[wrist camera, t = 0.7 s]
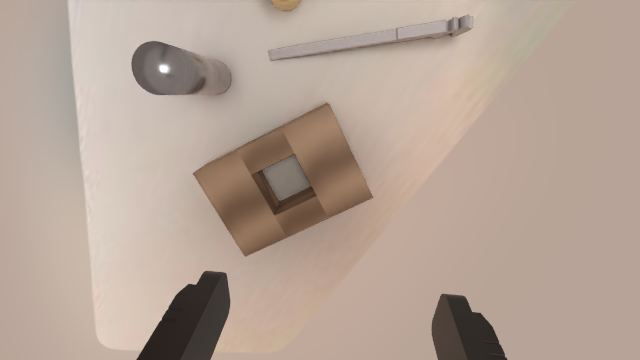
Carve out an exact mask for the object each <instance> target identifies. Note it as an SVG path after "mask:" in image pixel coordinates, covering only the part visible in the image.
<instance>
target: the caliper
mask: <svg viewBox="0 0 640 360" xmlns="http://www.w3.org/2000/svg"><path fill="white" fill-rule="evenodd" d="M472 28H473V16H469V15H466V16H463V17H461V18H459V19H458V17H453V18H452V20H449V21H446V20H444V21H438V22H432V23H426V24H420V25H414V26H408V27H402V28H397V29H394V30H388V31H381V32H375V33H369V34H363V35H357V36H351V37H345V38H339V39H332V40H326V41H320V42H314V43H308V44H302V45H296V46H290V47H284V48H278V49H276V50H270V51H268V52H269V58H270V61H271V60H278V59H286V58H294V57H301V56H307V55H314V54H320V53H326V52H333V51H339V50H346V49H352V48H358V47H365V46H371V45H378V44H384V43H391V42H403V41H409V40H415V39H420V38H425V37H432V38H434V39H437V38H440V37H442V36H443V34H448V33H452V36H457V35H460V34H462V33H465V32H467V31H469V30H471V29H472Z"/></svg>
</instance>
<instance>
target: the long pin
mask: <svg viewBox="0 0 640 360" xmlns="http://www.w3.org/2000/svg"><path fill="white" fill-rule="evenodd" d="M132 71H133V75H134V77H135V79H136V81H137V82H138V84H139V85H140V86H141V87H142V88H143V89H145V90H146V91H148V92H150V93H152V94H156V95H194V94H221V93H223V92H225V91H226V90H227V89H228V88H229V86H230V84H231V73H230V71H229V69H228V67H227V66H226V65H225V64H224V63H222V62H220V61H218V60H214V59H211V58H208V57H205V56H202V55H199V54H196V53H193V52H190V51H186V50H183V49H180V48H177V47H174V46H171V45H168V44H165V43H161V42H157V41H151V42H146V43H144V44H142V45H141V46H139V47H138V48H137V50H136V51H135V53H134V55H133V58H132Z"/></svg>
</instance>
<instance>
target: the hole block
mask: <svg viewBox="0 0 640 360" xmlns="http://www.w3.org/2000/svg"><path fill="white" fill-rule="evenodd" d="M292 154H295V155H296V157H297V159H298V161H299V163H300V165H301V167H302V169H303V171H304V173H305V175H306V176H307V178H308V180H309V182H310V184H311V186H312V187H310V188H308V189H306V190H303V191H301V192H299V193H297V194H295V195H293V196H291V197H289V198H287V199H285V200H282V201H280V202H279V201H278V199H277V197H276V196H275V194H274V192H273V190H272V188H271V187H270V185H269V183H268V181H267V180H266V178H265V176H264V174H263V172H262V171H261V170H262V169H264V168H266V167H268V166H270V165H272V164H274V163H276V162H278V161H280V160H282V159H284V158H286V157H288V156H290V155H292ZM193 175H194V176H195V178H196V179H197V181H198V183H199V184H200V186H201V187H202V189H203V191H204V192H205V194H206V195H207V197H208V199H209V200H210V202H211V203H212V205H213V207H214V208H215V210H216V211H217V213H218V215H219V216H220V218H221V219H222V221H223V222H224V224H225V226H226V227H227V229H228V230H229V232H230V234H231V235H232V237H233V238H234V240H235V242H236V243H237V245H238V246H239V248H240V250H241V251H242V253H243V254H244V256H245V257H246V256H248V255H250V254H252V253H254V252H256V251H259V250H261V249H263V248H265V247H267V246H269V245H272V244H274V243H276V242H278V241H280V240H282V239H285V238H287V237H289V236H291V235H293V234H295V233H298V232H300V231H302V230H304V229H306V228H308V227H311V226H313V225H315V224H317V223H319V222H321V221H324V220H326V219H328V218H330V217H332V216H334V215H337V214H339V213H341V212H343V211H345V210H347V209H350V208H352V207H354V206H356V205H358V204H360V203H363V202H365V201H367V200H369V199H371V198H373V196H372V194H371V192H370V190H369V188H368V186H367V183H366V181H365V179H364V177H363V175H362V173H361V171H360V169H359V167H358V164H357V162H356V160H355V158H354V156H353V154H352V152H351V150H350V147H349V145H348V143H347V141H346V139H345V137H344V135H343V133H342V131H341V128H340V126H339V124H338V122H337V120H336V118H335V116H334V114H333V112H332V109H331V107H330V105H329V104H328V103H326V104H324V105H322V106H320V107H318V108H316V109H314V110H312V111H310V112H308V113H306V114H304V115H302V116H300V117H298V118H296V119H294V120H293V121H291V122H289V123H287V124H285V125H283V126H281V127H279V128H277V129H275V130H273V131H271V132H269V133H267V134H265V135H263V136H261V137H259V138H257V139H255V140H253V141H251V142H249V143H247V144H245V145H243V146H241V147H239V148H237V149H235V150H233V151H231V152H229V153H227V154H226V155H224V156H222V157H220V158H218V159H216V160H214V161H212V162H210V163H208V164H206V165H205V166H203V167H201V168H200V169H198V170H197V171H195V172H194V173H193Z"/></svg>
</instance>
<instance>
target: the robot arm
mask: <svg viewBox="0 0 640 360" xmlns="http://www.w3.org/2000/svg"><path fill="white" fill-rule="evenodd" d="M229 309H230V295H229V288H228V281H227V275H226V273H223V272H213V271H205V272H204V273H203V274H202V276H201V278H200V279H199V281H198V283H197V285H193V284H188V285H187V286H186V287H185V288H183V289H182V290H181V291H180V292H179V293H178V294H177V295H176V296H175V298H174V299H173V301H172V303H171V304H170V306H169V309H168V310H167V311H166V312H165V314H164V316H163V317H162V321H160V322H159V324H158V326H157V327H156V329H155V330H154V332H153V334H152V335H151V337H150V339H149V340H148V342H147V343H146V345H145V347H144V348H143V350H142V352H141V353H140V355H139V357H138V358H137V360H210V359H211V357H212V354H213V352H214V349H215V347H216V344H217V342H218V339H219V337H220V334H221V332H222V329H223V327H224V324H225V322H226V319H227V317H228V314H229ZM432 337H433V342H434V345H435V349H436V353H437V358H438V360H507V358H505V354H504V351H503V349H502V347H501V345H499V340H498V338H497V336H496V334H495V331H494V329H493V327H492V326H491V325H490V323H489V322H488V321H487V320H486V319H485V318H484V317H483V315H482V314H481V313H475V312H472V311H471V309H470V306H469V303H468V301H467V299H466V297H464V296H460V295H449V294H442V295H441V296H440V299H439V302H438V305H437V308H436V311H435V315H434V317H433V321H432Z"/></svg>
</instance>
